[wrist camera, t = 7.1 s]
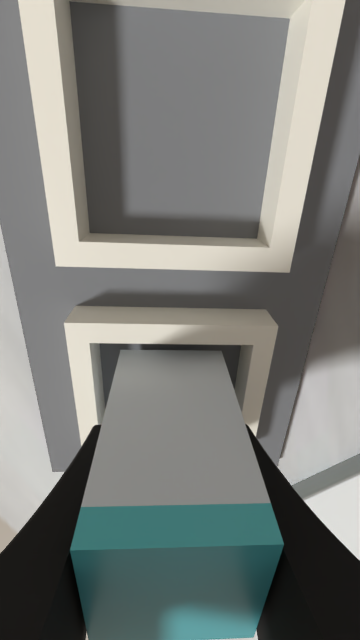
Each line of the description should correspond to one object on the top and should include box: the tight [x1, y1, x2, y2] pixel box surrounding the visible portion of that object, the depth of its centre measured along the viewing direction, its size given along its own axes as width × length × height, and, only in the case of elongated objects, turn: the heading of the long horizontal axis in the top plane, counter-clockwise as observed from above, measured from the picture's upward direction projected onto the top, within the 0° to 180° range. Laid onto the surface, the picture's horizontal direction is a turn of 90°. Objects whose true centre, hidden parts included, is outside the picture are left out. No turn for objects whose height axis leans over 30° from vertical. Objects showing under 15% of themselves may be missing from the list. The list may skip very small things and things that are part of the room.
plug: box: [70, 350, 284, 640], centre depth 10 cm, size 4×4×7 cm
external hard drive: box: [292, 454, 360, 561], centre depth 20 cm, size 2×8×12 cm
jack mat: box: [0, 0, 360, 472], centre depth 12 cm, size 21×12×1 cm, turn 178°
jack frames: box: [18, 0, 346, 446], centre depth 11 cm, size 17×8×2 cm, turn 178°
